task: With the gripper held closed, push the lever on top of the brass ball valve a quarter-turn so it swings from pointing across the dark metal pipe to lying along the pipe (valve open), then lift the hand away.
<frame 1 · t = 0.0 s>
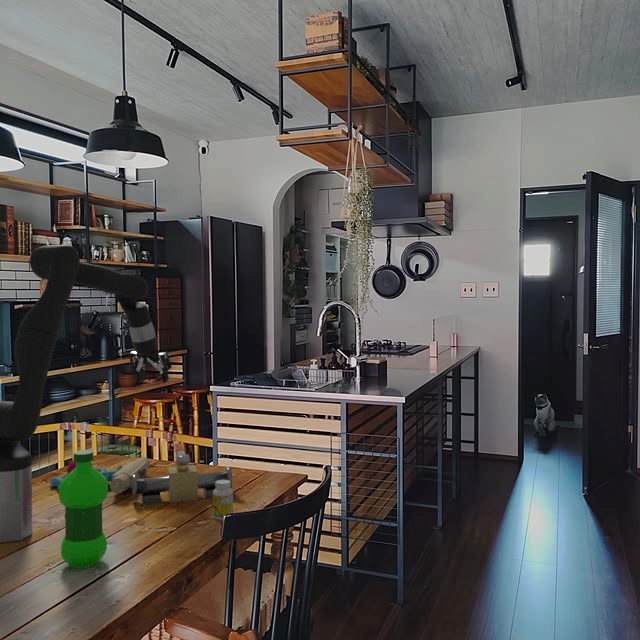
hand: (154, 380, 203), 31 cm above the table, tool tilted 20°, fingers open, 8 cm apart
pepper mill: (80, 532, 155), on the table
butterfly valve: (98, 487, 192), on the table
supplement bottle: (222, 517, 166), on the table
valve lever: (180, 453, 187), point 12 cm above the table, hinge at 0.0°
pipe valve: (182, 497, 181), on the table
plastic bottle: (84, 564, 136), on the table
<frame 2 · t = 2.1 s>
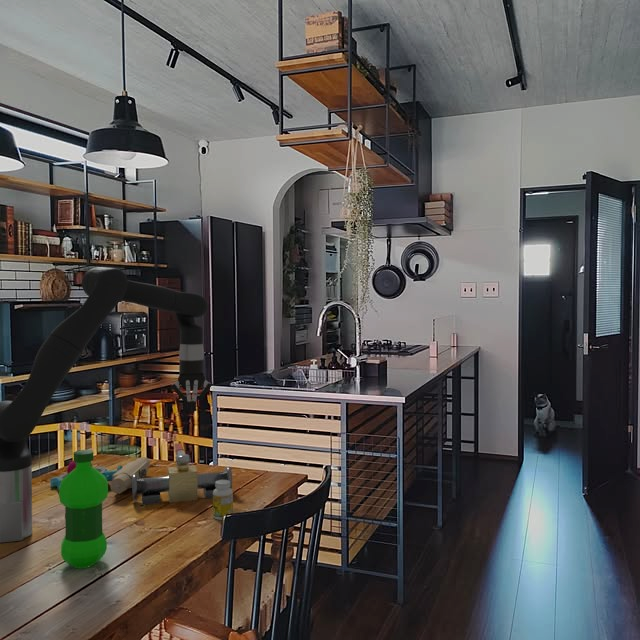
hand: (191, 412, 193), 23 cm above the table, tool pointing down, fingers closed
nothing on the table moved.
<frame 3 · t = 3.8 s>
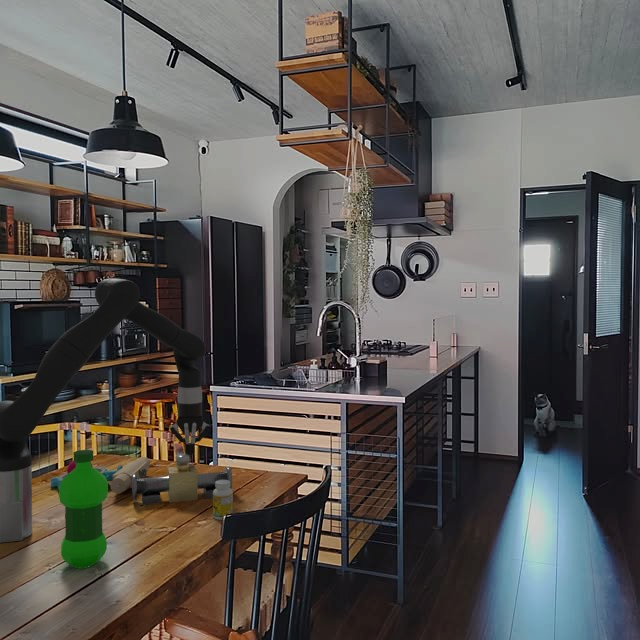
hand: (190, 454, 193), 9 cm above the table, tool pointing down, fingers closed
valve lever: (180, 453, 187), point 12 cm above the table, hinge at 0.1°, touching gripper
everything else where it was.
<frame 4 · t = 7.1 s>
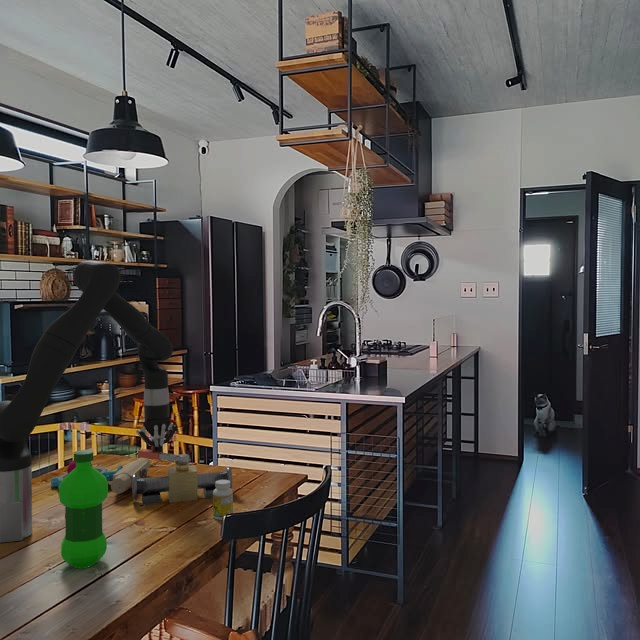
hand: (157, 457, 189), 10 cm above the table, tool pointing down, fingers closed
valve lever: (163, 456, 183), point 12 cm above the table, hinge at 46.8°, touching gripper
everything else where it was.
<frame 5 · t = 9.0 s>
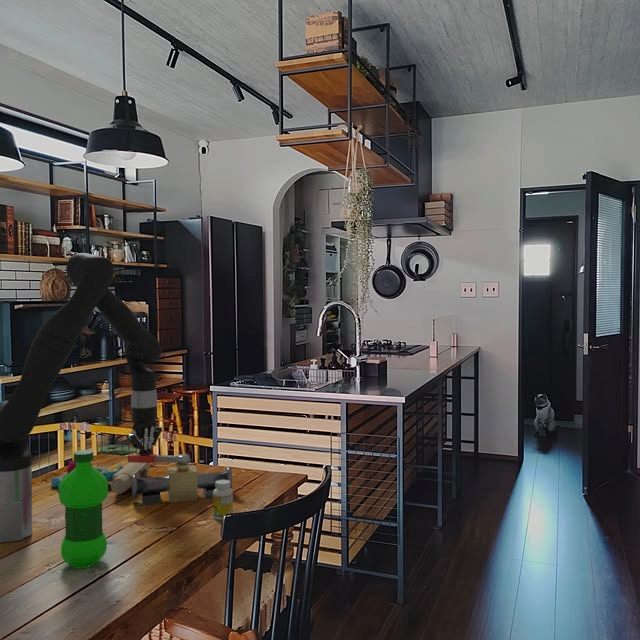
hand: (145, 461, 185), 10 cm above the table, tool pointing down, fingers closed
valve lever: (159, 458, 181), point 12 cm above the table, hinge at 69.2°, touching gripper
everything else where it was.
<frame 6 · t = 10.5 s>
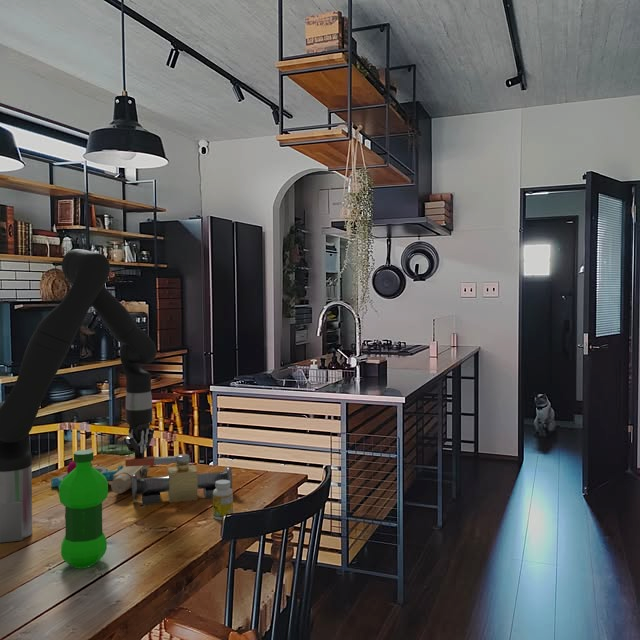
hand: (139, 464, 181), 10 cm above the table, tool pointing down, fingers closed
valve lever: (157, 460, 179), point 12 cm above the table, hinge at 85.3°, touching gripper
everything else where it was.
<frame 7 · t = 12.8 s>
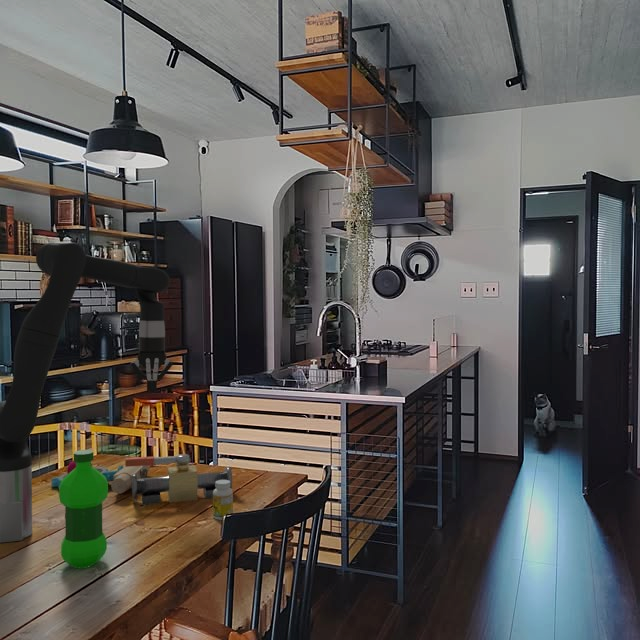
hand: (151, 392, 185), 30 cm above the table, tool pointing down, fingers closed
valve lever: (157, 460, 179), point 12 cm above the table, hinge at 85.6°
everything else where it was.
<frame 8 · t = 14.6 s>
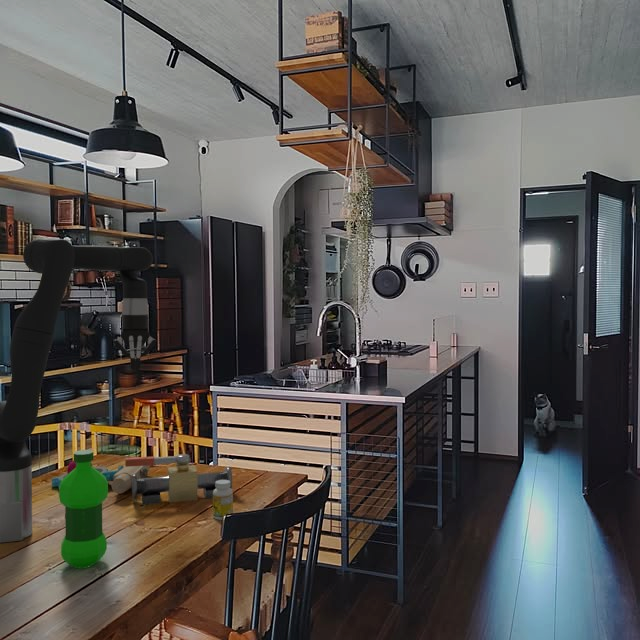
hand: (135, 370, 186), 37 cm above the table, tool pointing down, fingers closed
nothing on the table moved.
at the end: valve lever at +86° (first picture: +0°); valve lever touching nothing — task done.
